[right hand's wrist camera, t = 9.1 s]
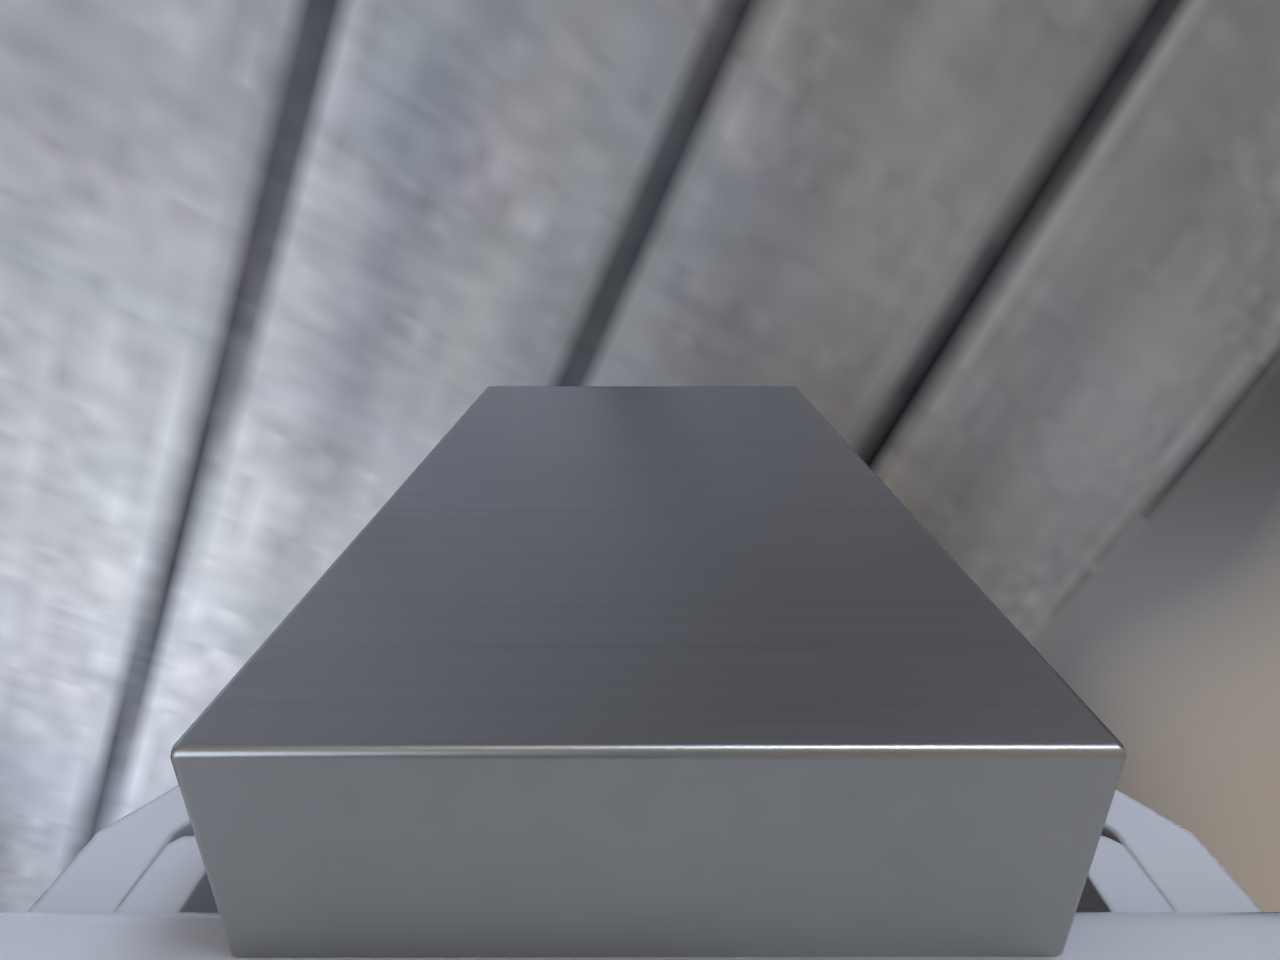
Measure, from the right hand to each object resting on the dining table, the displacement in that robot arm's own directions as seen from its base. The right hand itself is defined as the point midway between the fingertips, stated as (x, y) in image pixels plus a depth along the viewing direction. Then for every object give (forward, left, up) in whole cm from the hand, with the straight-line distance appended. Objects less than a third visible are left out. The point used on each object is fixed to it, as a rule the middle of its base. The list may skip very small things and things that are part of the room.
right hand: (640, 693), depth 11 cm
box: (+7, 0, -5) cm, 8 cm away
